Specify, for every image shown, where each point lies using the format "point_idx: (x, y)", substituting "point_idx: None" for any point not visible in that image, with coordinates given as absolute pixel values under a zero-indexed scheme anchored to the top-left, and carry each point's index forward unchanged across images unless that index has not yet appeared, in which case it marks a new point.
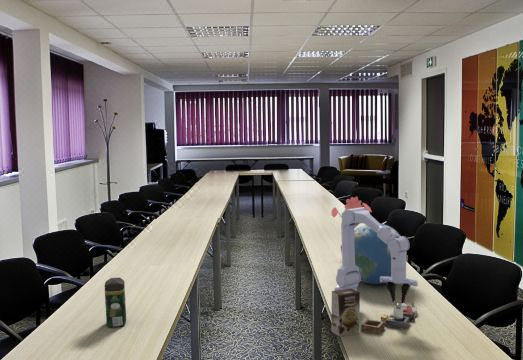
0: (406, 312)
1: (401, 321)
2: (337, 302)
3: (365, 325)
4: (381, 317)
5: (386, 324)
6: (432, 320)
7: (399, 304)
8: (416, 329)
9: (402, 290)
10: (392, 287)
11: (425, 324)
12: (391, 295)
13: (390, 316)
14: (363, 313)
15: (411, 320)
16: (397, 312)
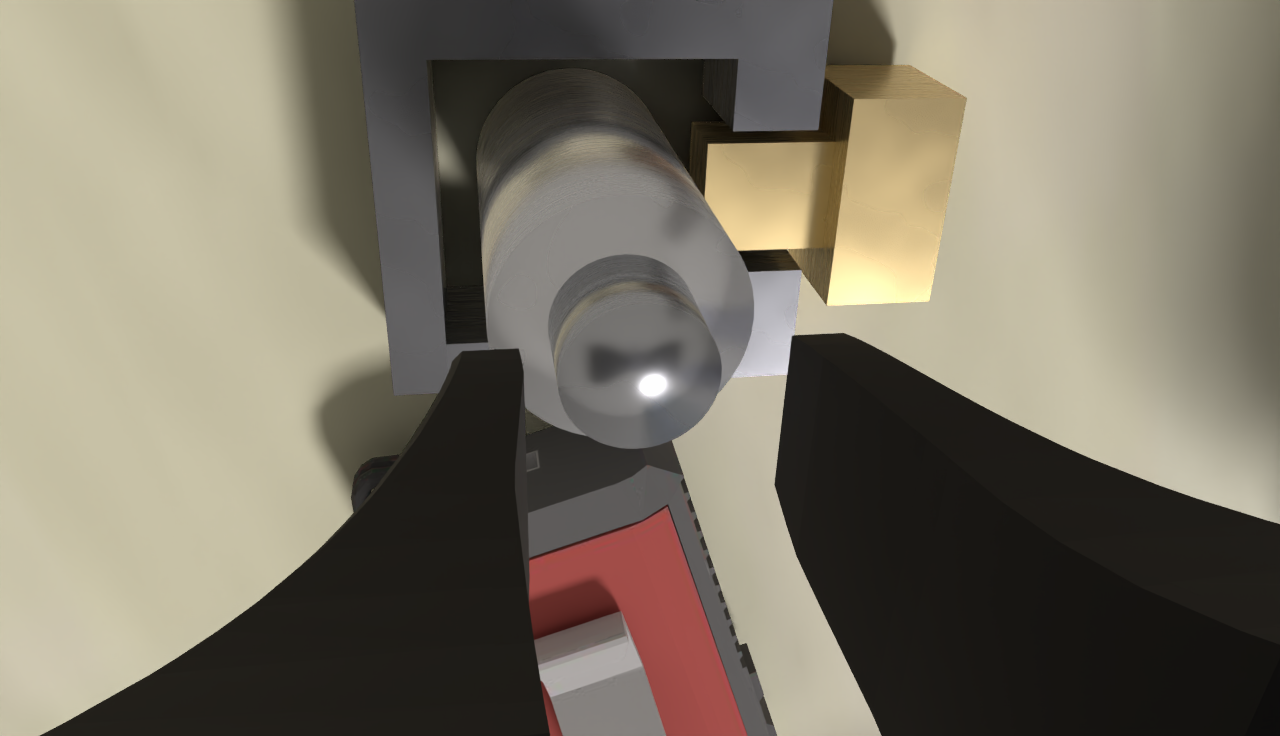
0: None
1: (491, 149)
2: None
3: None
4: (947, 96)
5: None
6: (93, 641)
7: (598, 364)
8: (140, 86)
9: (446, 628)
10: (1217, 626)
11: (109, 426)
12: (979, 413)
13: (771, 269)
14: (1223, 417)
15: None
16: (600, 164)
